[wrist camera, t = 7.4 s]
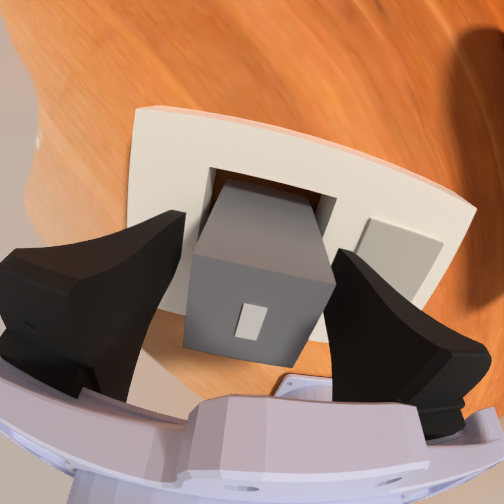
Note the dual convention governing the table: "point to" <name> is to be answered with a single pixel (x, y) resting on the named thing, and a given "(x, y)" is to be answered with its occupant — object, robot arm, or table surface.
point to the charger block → (257, 276)
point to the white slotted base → (303, 176)
